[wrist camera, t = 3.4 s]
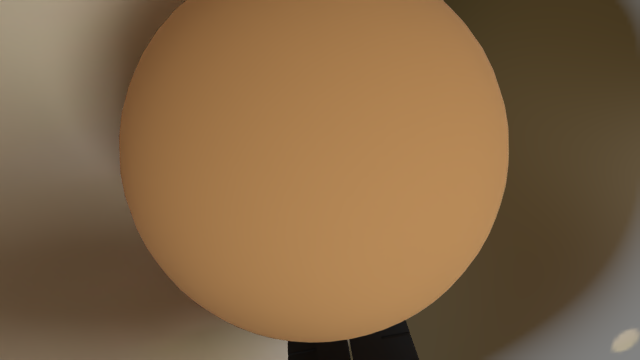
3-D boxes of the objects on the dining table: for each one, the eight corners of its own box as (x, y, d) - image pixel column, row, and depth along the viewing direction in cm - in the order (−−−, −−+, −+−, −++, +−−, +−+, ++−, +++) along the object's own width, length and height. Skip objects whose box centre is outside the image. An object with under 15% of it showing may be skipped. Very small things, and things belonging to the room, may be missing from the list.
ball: (133, -16, 8) (-130, 17, 3) (428, -69, 8) (683, -129, 3) (214, 229, 11) (152, 471, 6) (436, 189, 11) (577, 395, 6)
